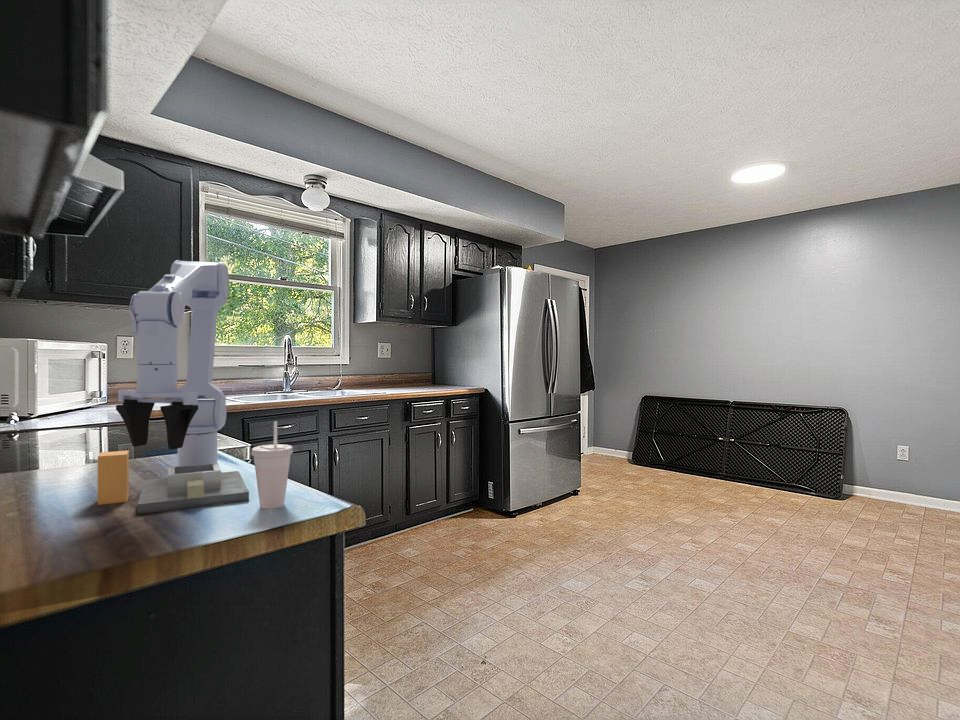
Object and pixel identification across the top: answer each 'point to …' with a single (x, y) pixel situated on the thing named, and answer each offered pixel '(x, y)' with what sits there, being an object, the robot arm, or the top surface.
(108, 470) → the wedge pin
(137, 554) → the top surface
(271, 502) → the smoothie
